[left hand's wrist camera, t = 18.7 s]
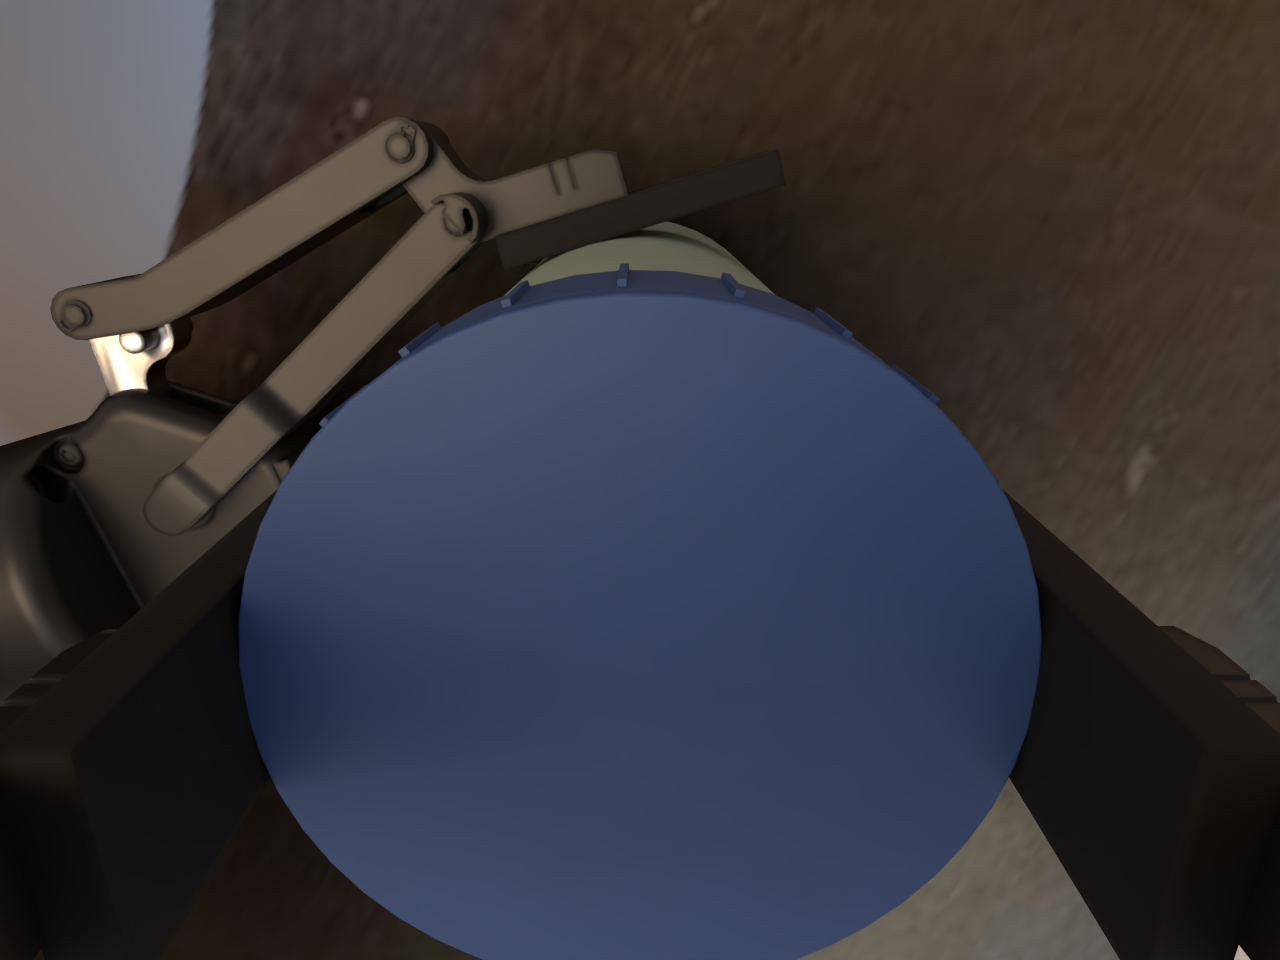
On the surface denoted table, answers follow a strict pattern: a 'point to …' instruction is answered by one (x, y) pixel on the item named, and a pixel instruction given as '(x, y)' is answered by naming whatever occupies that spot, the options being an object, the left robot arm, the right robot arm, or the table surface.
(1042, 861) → the table surface
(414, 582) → the lid
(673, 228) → the jar
